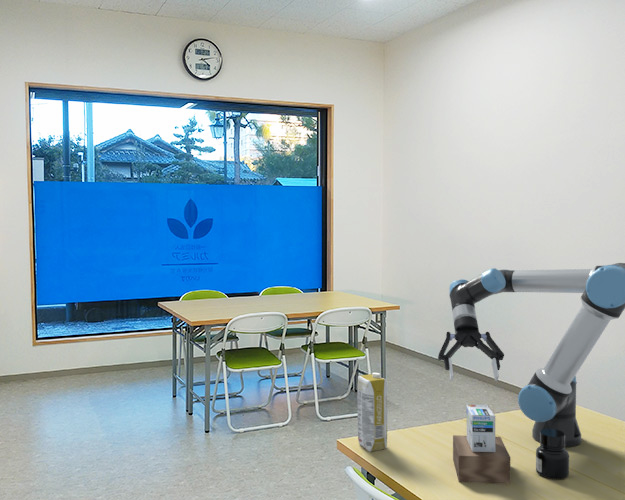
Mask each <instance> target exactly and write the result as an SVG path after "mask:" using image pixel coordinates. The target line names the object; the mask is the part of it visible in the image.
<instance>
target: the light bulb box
mask: <svg viewBox="0 0 625 500" xmlns="http://www.w3.org/2000/svg"><path fill="white" fill-rule="evenodd" d="M465 405H466V411H465V412H466V436H467V441H468V443H469V445H470V447H471V450H472V452H495V437H496V415H495V413H494V412H493V411H492V409H491V408H490V406H489V404H473V403H470V404H467V403H466V404H465Z"/></svg>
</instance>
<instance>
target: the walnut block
mask: <svg viewBox="0 0 625 500" xmlns="http://www.w3.org/2000/svg"><path fill="white" fill-rule="evenodd" d="M452 461H453V465H454V470H455V473H456V476H457V481H458V482H459V483H470V484H471V483H472V484H473V483H474V484H478V483H479V484H497V485H500V484H502V485H504V484H505V485H511V456H510V453H509V452H508V450H507V447H506V446H505V443H504V442H503V440H502V438H501V436H495V452H472V450H471V447H470V445H469V443H468V441H467V435H458V434H456V435H455V434H453V435H452Z"/></svg>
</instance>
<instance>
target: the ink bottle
mask: <svg viewBox="0 0 625 500" xmlns="http://www.w3.org/2000/svg"><path fill="white" fill-rule="evenodd" d="M539 444H540V446H538V447H537V448H536V449H535V471H536V474H538V475H539V476H541V477H544V478H547V479H552V480H564V479H567V478H568V477H569V474H570V453H569V451H568V450H567V449H566V447H565V433H564V432H562V431H560V430H556V429H543V430H541V431H540V442H539Z"/></svg>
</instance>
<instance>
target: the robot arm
mask: <svg viewBox="0 0 625 500" xmlns="http://www.w3.org/2000/svg"><path fill="white" fill-rule="evenodd" d="M502 293H547V294H548V293H549V294H550V293H553V294H555V293H556V294H558V293H559V294H560V293H561V294H562V293H563V294H564V293H565V294H566V293H567V294H569V293H570V294H581V296H580V301H581V304H582V305H581V306H580V308H579V310H578V311H577V313H576V315H575V316H574V318H573V320H572V321H571V323H570V325H569V326H568V328H567V330H566V331H565V333H564V335H563V336H562V338H561V340H560V341H559V343H558V344H557V346H556V347H555V350H553V353H552V354H551V356H550V357H549V359H548V361H547V362H546V364H545V366H544V367H543V368H537V369H536V370H535V372H534V374H533V375H532V377H531V378H530V381H529V382H528V383H527V385H525V386H523V387H522V388H521V390H520V391H519V393H518V395H517V402H518V407H519V409H520V410H521V412H522V414H523V415H524V416H525V417H527V418H528V419H529V420H531V421H534V424H533V427H532V432H531V433H532V435H531V436H532V438H533V440H535V441H536V442H539V443H540V431H541V430H543V429H556V430H560V431H562V432H564V433H565V447H564V448H567V447H568V448H569V447H576V446H578V445H581V444H582V433H581V430H580V426H579V424H578V420H577V417H576V416H577V415H576V413H577V412H576V411H577V409H576V408H577V373H578V372H579V370H580V369H581V367H582V366H583V364H584V363H585V361H586V359H587V358H588V356H589V355H590V353H591V352H592V350H593V348H594V346H595V345H596V344H597V342H598V340H599V339H600V338H601V335H602V334H603V332H604V331H605V329H606V328H607V327H608V325H609V323H610V321H612V320H616V319H619V318H620V316H621V315H622V314H623V311H625V263H624V262H617V263H613V264H608V265H607V264H606V265H595V266H594V267H593V268H577V269H571V268H570V269H564V268H563V269H516V270H510V269H497V268H495V267H491V268H490V269H488V270H485V271H483V273H480V274H479V275H478V276H476V277H474V278H472V279H470V280H469V281H468V280H467V279H463V278H462V279H458V280H457V279H456V280H453V281H452V282H451V283H450V285H449V299H450V305H451V310H452V318H453V319H452V320H453V326H454V333H451V332H450V331H447V332H446V335H445V340H444V342H443V344H442V346H441V349H440V350H439V352H438V356H437V360H438V361H443V364H444V369H445V370H446V371H448V374H449V375H448V376H449V381H450V382H453V381H454V372H453V371H454V370H453V361H452V357H453V356H454V355H455V353H456V352H457V351H458V350H459V349H460V348H461V347H463V348H477V350H480V351H481V352H483V354H485V355H486V356H487V357H488V358H489V359H491V366H492V371H493V372H492V373H493V376H494V381H495V382H498V380H499V377H500V375H499V371H500V368H501V364H500V361H503V360H504V357H505V354H504V352H503V351H502V350H501V348H500V347H499V346H498V345H497V343H496V342H495V340H494V339H493V338H492V336H491V334H490V331H485V333H481V332H480V330H479V323H478V318H477V313H476V307H475V304H477V303H479V302H481V301H482V300H484V299H486V298H489V297H490V296H493V295H497V294H502ZM453 339H454V340H456V342H455V344H453V346H451V348H450V349H449V350H448V351H447V349H448V347H449V345H450V341H453ZM483 341H484V342H486V344H487V345H486V344H485V343H484V342H483ZM446 351H447V352H446Z"/></svg>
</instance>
